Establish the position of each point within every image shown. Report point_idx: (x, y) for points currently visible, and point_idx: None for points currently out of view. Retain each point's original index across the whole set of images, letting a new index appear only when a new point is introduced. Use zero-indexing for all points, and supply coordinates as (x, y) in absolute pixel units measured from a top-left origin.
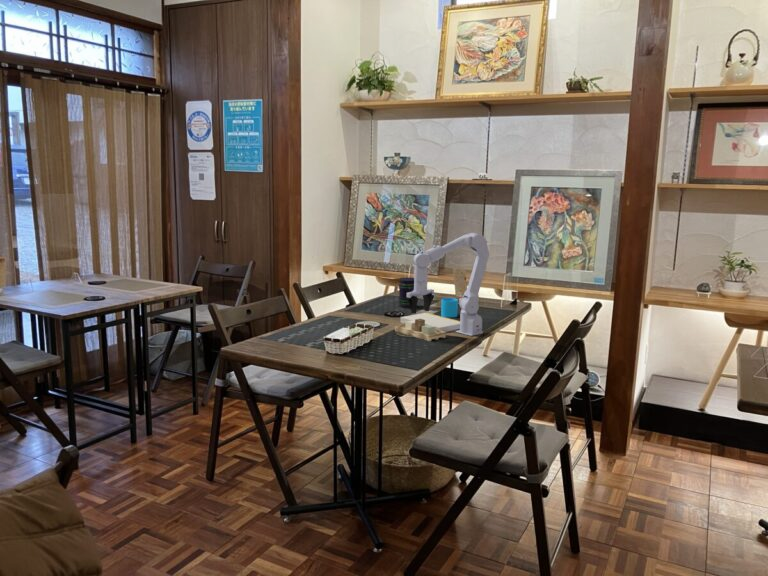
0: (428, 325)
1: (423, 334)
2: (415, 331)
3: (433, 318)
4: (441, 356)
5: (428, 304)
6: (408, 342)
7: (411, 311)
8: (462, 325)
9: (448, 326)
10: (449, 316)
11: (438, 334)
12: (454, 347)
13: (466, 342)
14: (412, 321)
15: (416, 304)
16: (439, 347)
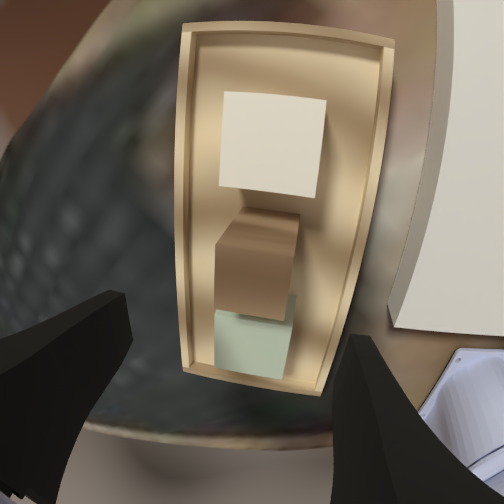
0: (274, 336)
1: (180, 336)
2: (182, 265)
3: None
4: (117, 430)
5: (335, 465)
6: (99, 289)
7: (97, 299)
8: (450, 415)
9: (469, 331)
10: None
11: (259, 383)
12: (214, 438)
13: (307, 443)
14: (289, 136)
15: (72, 434)
16: (167, 408)
